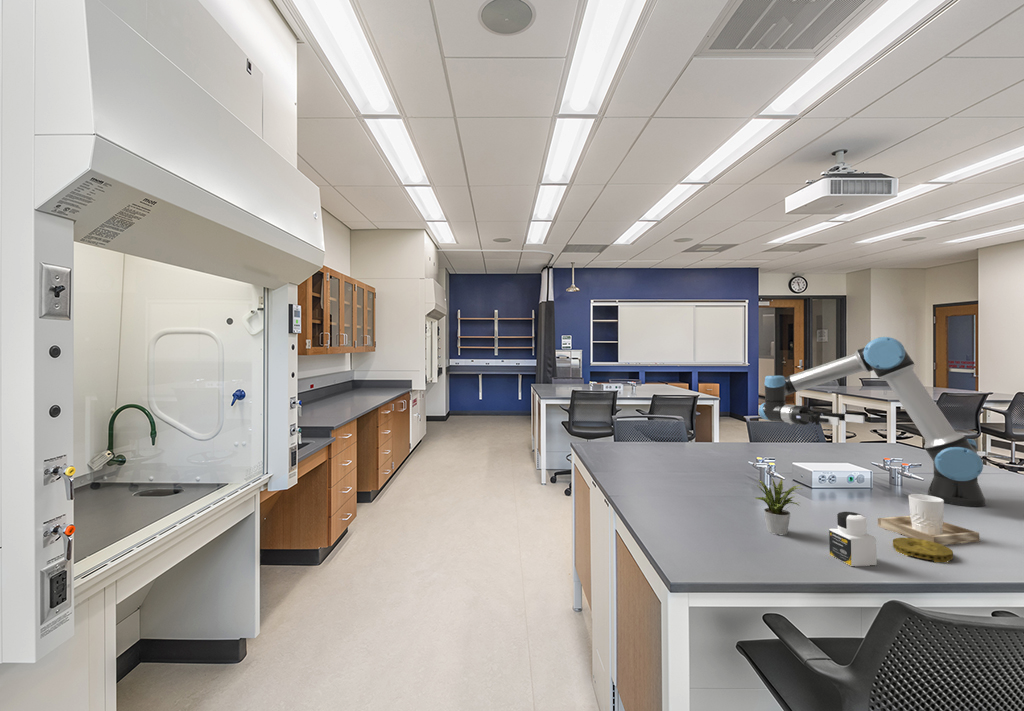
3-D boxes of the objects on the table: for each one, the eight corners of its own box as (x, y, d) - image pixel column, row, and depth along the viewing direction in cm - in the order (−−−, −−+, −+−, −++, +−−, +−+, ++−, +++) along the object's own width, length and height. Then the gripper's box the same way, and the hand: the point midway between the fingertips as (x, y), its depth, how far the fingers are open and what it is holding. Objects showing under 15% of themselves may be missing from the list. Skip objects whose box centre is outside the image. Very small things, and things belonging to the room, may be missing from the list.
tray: (919, 522, 146) (919, 514, 146) (979, 541, 130) (979, 532, 130) (877, 526, 143) (877, 518, 143) (933, 546, 127) (933, 537, 127)
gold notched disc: (890, 554, 123) (890, 546, 123) (895, 541, 131) (895, 534, 131) (952, 568, 114) (952, 559, 115) (953, 553, 123) (953, 545, 123)
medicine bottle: (828, 555, 122) (827, 509, 122) (854, 554, 123) (853, 509, 123) (851, 567, 115) (849, 518, 115) (877, 565, 115) (876, 517, 116)
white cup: (937, 538, 131) (936, 503, 132) (904, 529, 138) (903, 496, 139) (949, 533, 135) (949, 499, 135) (916, 525, 142) (915, 492, 142)
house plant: (813, 545, 128) (812, 486, 129) (757, 539, 133) (756, 482, 134) (801, 528, 142) (800, 475, 142) (751, 523, 147) (750, 471, 147)
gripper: (818, 422, 191) (874, 428, 171) (774, 425, 182) (827, 433, 162) (817, 404, 191) (873, 408, 171) (774, 406, 182) (827, 411, 162)
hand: (851, 420), depth 167 cm, fingers open, 13 cm apart
